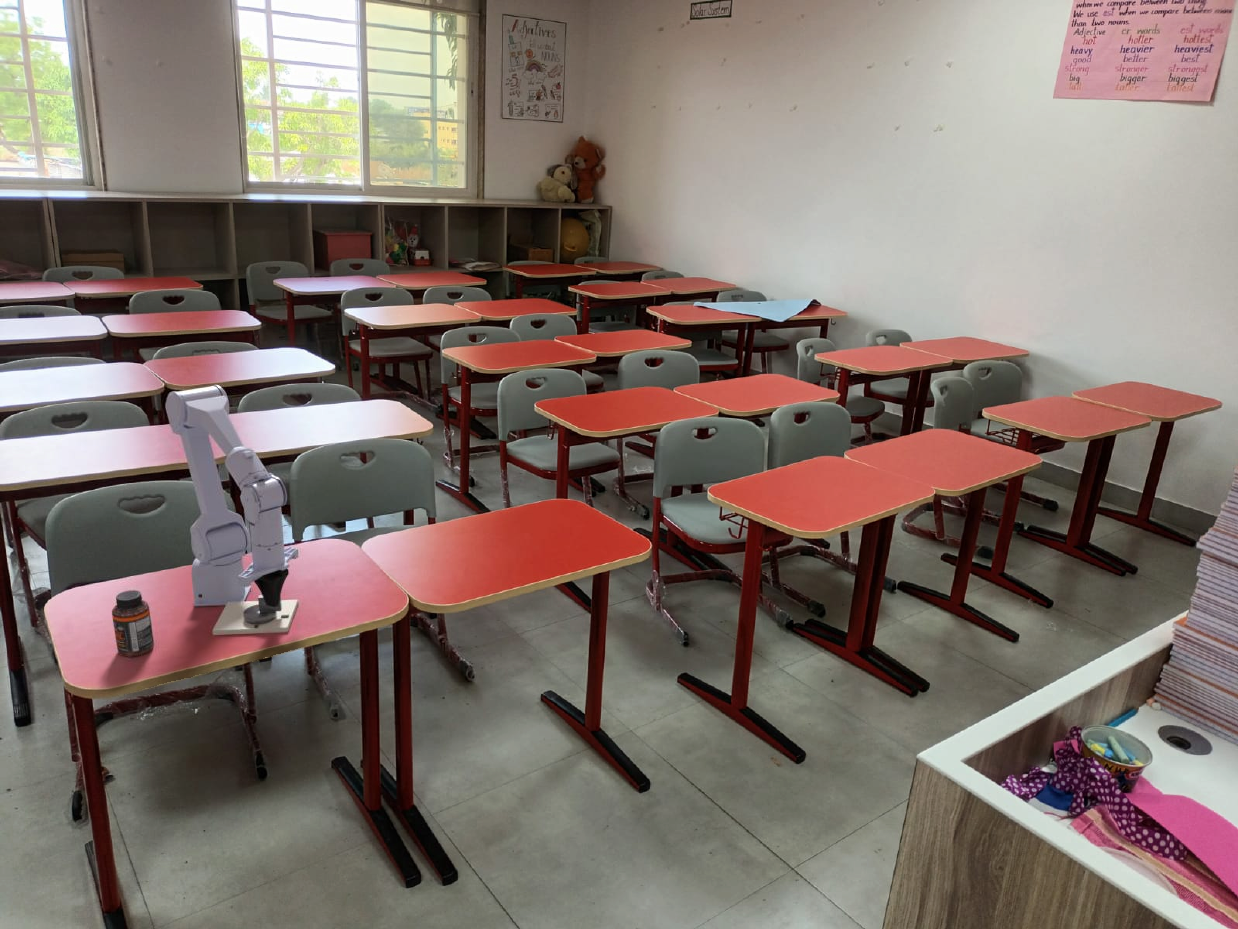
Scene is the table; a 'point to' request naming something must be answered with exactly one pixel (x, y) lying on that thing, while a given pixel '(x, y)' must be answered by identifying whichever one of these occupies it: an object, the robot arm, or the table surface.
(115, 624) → the supplement bottle
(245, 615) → the dial
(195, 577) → the robot arm
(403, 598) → the table surface
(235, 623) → the dial plate
